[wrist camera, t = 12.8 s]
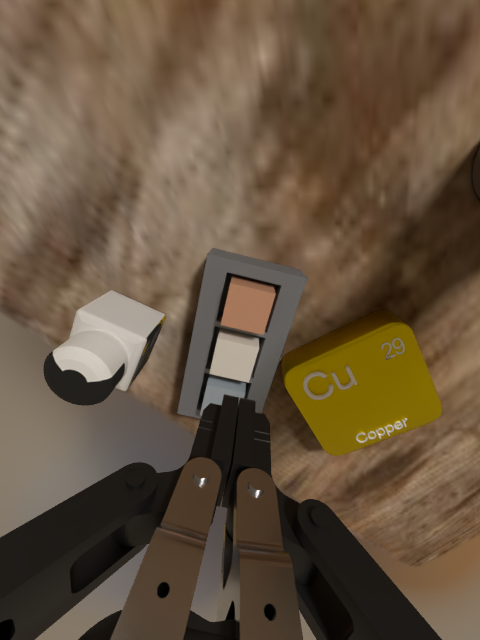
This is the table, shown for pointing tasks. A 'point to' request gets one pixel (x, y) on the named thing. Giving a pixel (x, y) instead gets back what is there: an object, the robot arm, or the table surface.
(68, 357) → the medicine bottle
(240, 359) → the ivory key
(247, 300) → the terracotta key
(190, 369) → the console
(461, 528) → the table surface
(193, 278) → the table surface
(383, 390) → the element tile
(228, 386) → the slate key
